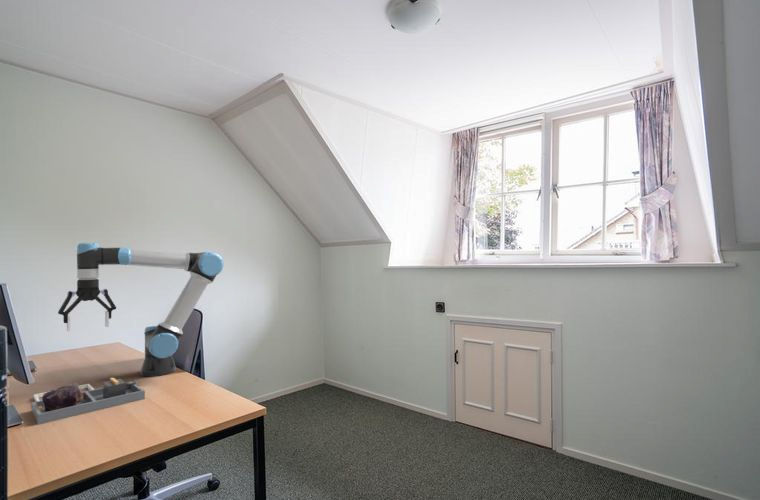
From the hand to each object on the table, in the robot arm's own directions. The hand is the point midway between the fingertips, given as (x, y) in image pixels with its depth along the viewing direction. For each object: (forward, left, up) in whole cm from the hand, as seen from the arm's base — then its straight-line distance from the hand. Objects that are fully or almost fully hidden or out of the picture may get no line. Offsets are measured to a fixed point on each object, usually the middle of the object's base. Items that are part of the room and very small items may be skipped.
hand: (88, 328), depth 173 cm
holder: (+3, +20, -27) cm, 33 cm away
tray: (+8, +2, -27) cm, 28 cm away
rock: (+11, +20, -26) cm, 35 cm away
